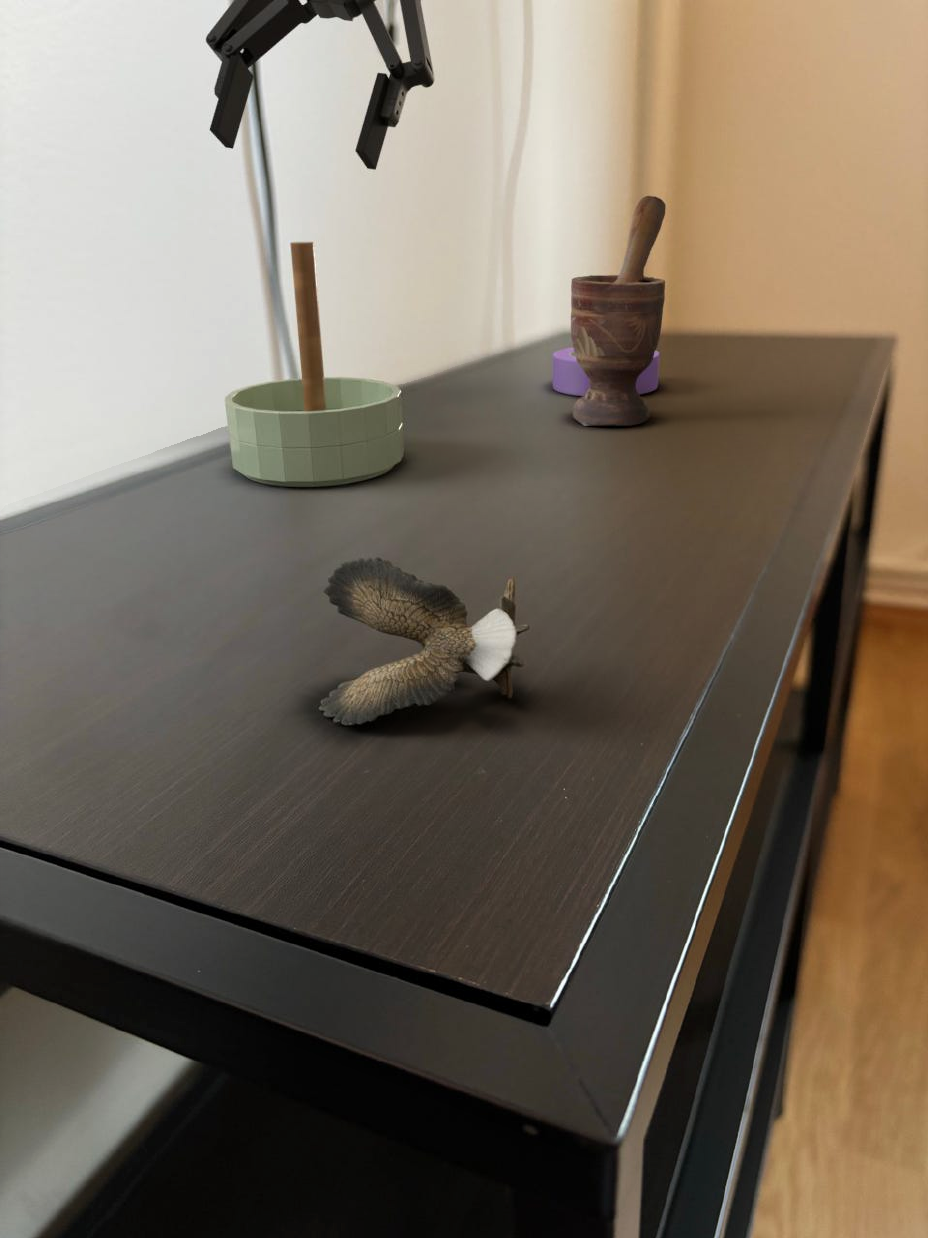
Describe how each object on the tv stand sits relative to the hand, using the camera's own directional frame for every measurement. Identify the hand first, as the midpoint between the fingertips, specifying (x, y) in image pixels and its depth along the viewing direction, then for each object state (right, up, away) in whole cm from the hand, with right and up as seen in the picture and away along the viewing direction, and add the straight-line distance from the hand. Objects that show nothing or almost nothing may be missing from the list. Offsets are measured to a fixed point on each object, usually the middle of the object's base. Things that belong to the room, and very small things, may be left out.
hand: (291, 150), depth 81 cm
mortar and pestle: (+29, -19, +17) cm, 38 cm away
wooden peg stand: (+2, -25, +2) cm, 25 cm away
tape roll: (+30, -13, +29) cm, 44 cm away
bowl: (+2, -26, +2) cm, 26 cm away
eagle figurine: (+12, -43, -35) cm, 57 cm away
